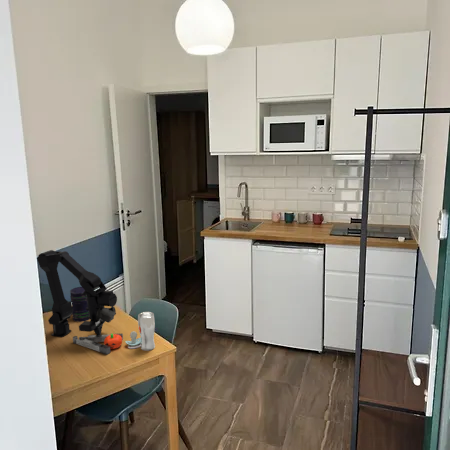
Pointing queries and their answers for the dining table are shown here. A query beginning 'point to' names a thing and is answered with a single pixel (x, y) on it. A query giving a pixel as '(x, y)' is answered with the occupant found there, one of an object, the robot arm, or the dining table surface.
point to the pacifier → (134, 341)
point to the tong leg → (97, 337)
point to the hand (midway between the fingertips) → (99, 336)
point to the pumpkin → (113, 341)
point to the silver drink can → (146, 330)
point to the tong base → (92, 345)
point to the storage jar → (79, 304)
